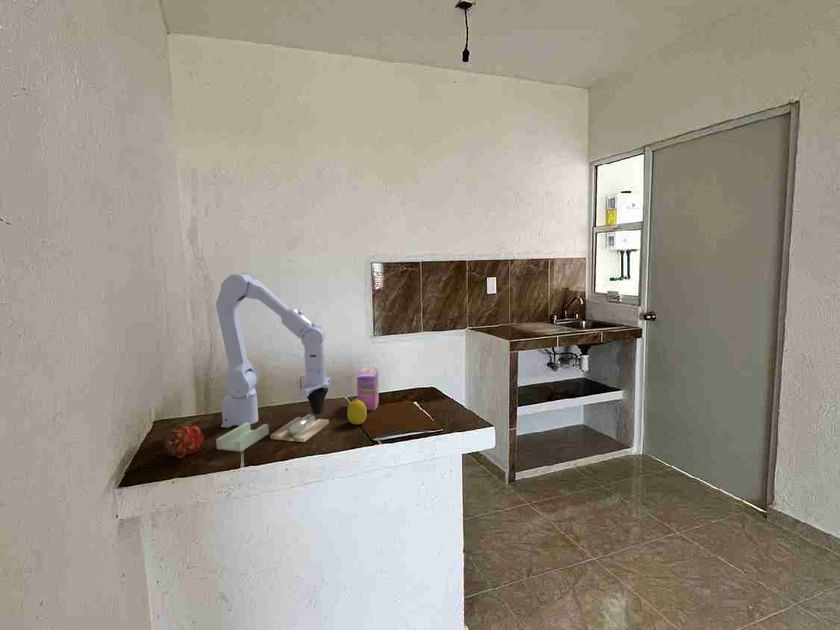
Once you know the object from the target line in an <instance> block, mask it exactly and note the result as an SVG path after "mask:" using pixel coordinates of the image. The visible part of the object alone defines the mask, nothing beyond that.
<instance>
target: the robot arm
mask: <svg viewBox="0 0 840 630" xmlns="http://www.w3.org/2000/svg"><path fill="white" fill-rule="evenodd" d="M219 291H220V292H219V294H218V296H217V299H216V302H215V307H216V312H217V317H218V321H219V326H220V330H221V335H222V339H223V344H224V348H225V353H226V358H227V361H228V362H227V363H228V368H227V371H226V377H227V382H226V385H225V386H226V391H227V393H228V394H226V395H225V396H224V397H223V398H222V402H221V415H222V417H221V419H222V424H221V426H220V427H221V428H226V429H227V428H231V427H232V426H238V427H239V426H241V425H243V424H244V423H250V425H253V424H255V423H257V422H258V421H259V413H258V412H259V410H258V408H259V407H258V396H257V389H256V386H257V385H258V382H259V377H258V373H256V371H255V370H254V368H253V364H252V363H251V362H250V361H249V359H248V354H247V349H246V344H245V341H244V336H243V331H242V327H241V322H240V321H241V320H240V316H239V313H238V306H240V304H241V303H242V301H243V300H245V299H251V300H253V299H254V300H259V301H260V302H261V303H263V304H264V305H265V306H266V307H267V308H269V309H270V310H271V311H273V312H274V313H275V314H277V315H278V316H279V317H280V318H281V319H280V320H281V324H282V325H283V326H284V327H285V328H286V329H288V330H289V331H290V332H291V333H292V334H294V336H296V337H297V338H298V339H301V345H302V346H303V347H304V371H305V372H304V373H305V374H304V375H305V383H304V385H303V387H302V388H301V389H300V391H299V392H300V397H306V398H307V401H309V404H310V405H309V406H310V407H311V410H312V413H313V414H312V415H320V414H322V412H323V409H324V408H323V407H324V402H325V398H326V396H327V394H328V391H329V388H328V387H329V386H330V384H331V376H327V375H326V356H325V355H326V354H325V346H324V341H325V338H326V334H325V331H324V330H323V329H322V327H321V326H320V325H317V324H316V322H314V321H313V322H312V321H310V320H309V319H308V318H307V317H306V316H304V315H303V314H304V312H303V311H302V310H301V309H299V310H298V309H296V308H289V307H288V306H286V304H285V303H284V302H283V301H282V300H281V299H279V298H278V297H277V296H276V295H275V294H274V293H273V292H272V291H271V290H270V289H269V288H268V287H267V286H266V285H264V283H263V282H261V281H260V280H259V279H256V278H255V277H254V276H253V274H251V273H248V272H242V273H238V274H236V273H235V274H230V275H229V276H227V277H226V278H225V279H224V280H223V281H222V282H221V284H220V290H219Z"/></svg>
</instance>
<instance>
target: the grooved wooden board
mask: <svg viewBox="0 0 840 630" xmlns="http://www.w3.org/2000/svg"><path fill="white" fill-rule="evenodd" d="M304 417H305V416H303V417H302V416H301V417H300V416H297V417H295V418H294V419H293V420H291V421H289V422H287V423H286V424H284V425H283V426H281V427H280V428H278V429H277V430H275V431H273V432H272V433H270V434H269V437H270V439H271V440H280V441H289V442H299V443H300V442H301V443H305V442H306V441H307V440H309V439H310V438H312V437H313V436H314V435H315V434H317V433H318V432H319V431H321V430H322V429H323V428H324V427H326V426H328V424H330V419H325V418H318V419H315V422H313V423H312V424H311V425H309V426H308V427H306V428H305V429H304V430H302V431H301V432H299V433H298V434H297V435H295V436H294V437H290V436H289V435H288V433H287V429H288V428H289V427H290V426H292V425H293V424H295V423H296V422H298V421H299V420H301V419H302V418H304Z"/></svg>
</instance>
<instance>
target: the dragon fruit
mask: <svg viewBox="0 0 840 630" xmlns="http://www.w3.org/2000/svg"><path fill="white" fill-rule="evenodd" d="M164 438H165V442H164V445H163V446H164V447H163V451H164V452H166V453H167V455H168V456H175V457H176V458H178V459H181V458H183V457H184V459H185V458H187V455H191V454H195V453H199V452H200V449H199V448H200V446H201V445H202V443H203V442H204V441H205V436H204V434H203V433H202V432H201V429H200V428H199V426H197V425H192V423H189V422H188V423H187V422H186V423H185V424H184V425H182V426H181V425H179V426H177V427H175V428H173V431H171V432H168V433H165V434H164Z"/></svg>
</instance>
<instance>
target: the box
mask: <svg viewBox="0 0 840 630" xmlns="http://www.w3.org/2000/svg"><path fill="white" fill-rule="evenodd" d="M356 391H357V393H356V396H357V398H356V399H358V400H360V401H362V402H363V403H364V404H365V406H366V410H367V411H375V410H377V409H378V406H379V400H380V399H379V398H380V397H379V395H380V394H379V368H377V367H362V368H360V369H359V372H358V374H357V376H356ZM376 408H377V409H376Z"/></svg>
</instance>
